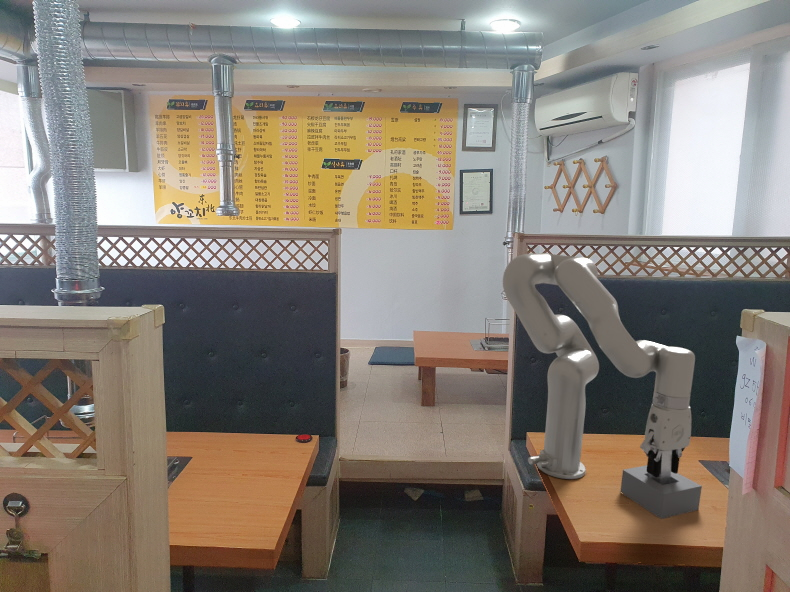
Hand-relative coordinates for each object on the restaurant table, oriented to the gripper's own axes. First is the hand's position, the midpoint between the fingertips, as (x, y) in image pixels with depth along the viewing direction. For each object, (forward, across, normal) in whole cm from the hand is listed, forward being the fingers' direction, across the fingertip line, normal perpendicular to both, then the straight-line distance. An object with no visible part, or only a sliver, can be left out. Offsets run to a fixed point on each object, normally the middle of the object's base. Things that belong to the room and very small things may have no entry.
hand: (662, 472), depth 125 cm
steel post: (+7, 0, 0) cm, 7 cm away
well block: (+7, 0, 0) cm, 7 cm away
